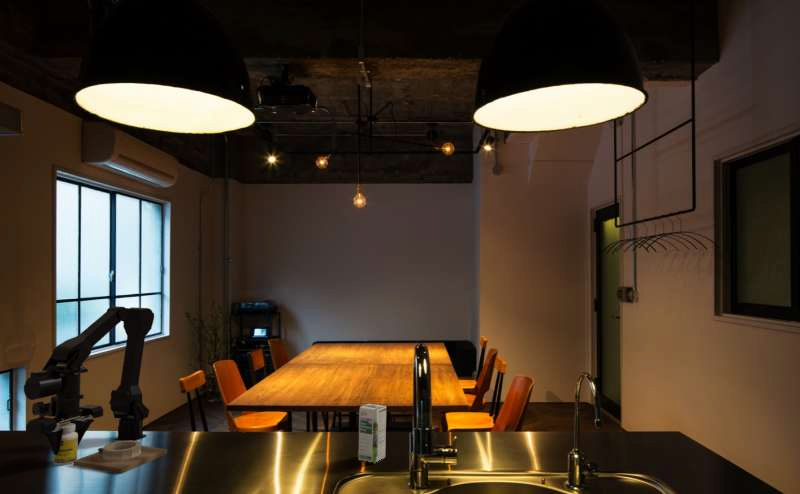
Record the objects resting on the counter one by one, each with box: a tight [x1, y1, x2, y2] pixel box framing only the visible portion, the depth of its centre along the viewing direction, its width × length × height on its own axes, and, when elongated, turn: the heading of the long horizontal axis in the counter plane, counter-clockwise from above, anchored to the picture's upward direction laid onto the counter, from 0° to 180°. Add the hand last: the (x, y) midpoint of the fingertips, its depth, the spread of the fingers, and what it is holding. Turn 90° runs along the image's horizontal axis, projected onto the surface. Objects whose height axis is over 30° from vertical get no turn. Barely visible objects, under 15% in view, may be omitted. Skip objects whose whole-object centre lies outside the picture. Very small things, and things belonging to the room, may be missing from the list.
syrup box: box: [357, 403, 387, 464], centre depth 152 cm, size 6×6×14 cm
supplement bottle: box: [53, 422, 79, 466], centre depth 146 cm, size 5×5×10 cm
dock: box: [72, 440, 168, 475], centre depth 149 cm, size 16×16×4 cm
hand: (65, 450), depth 146 cm, fingers closed on supplement bottle, 5 cm apart
